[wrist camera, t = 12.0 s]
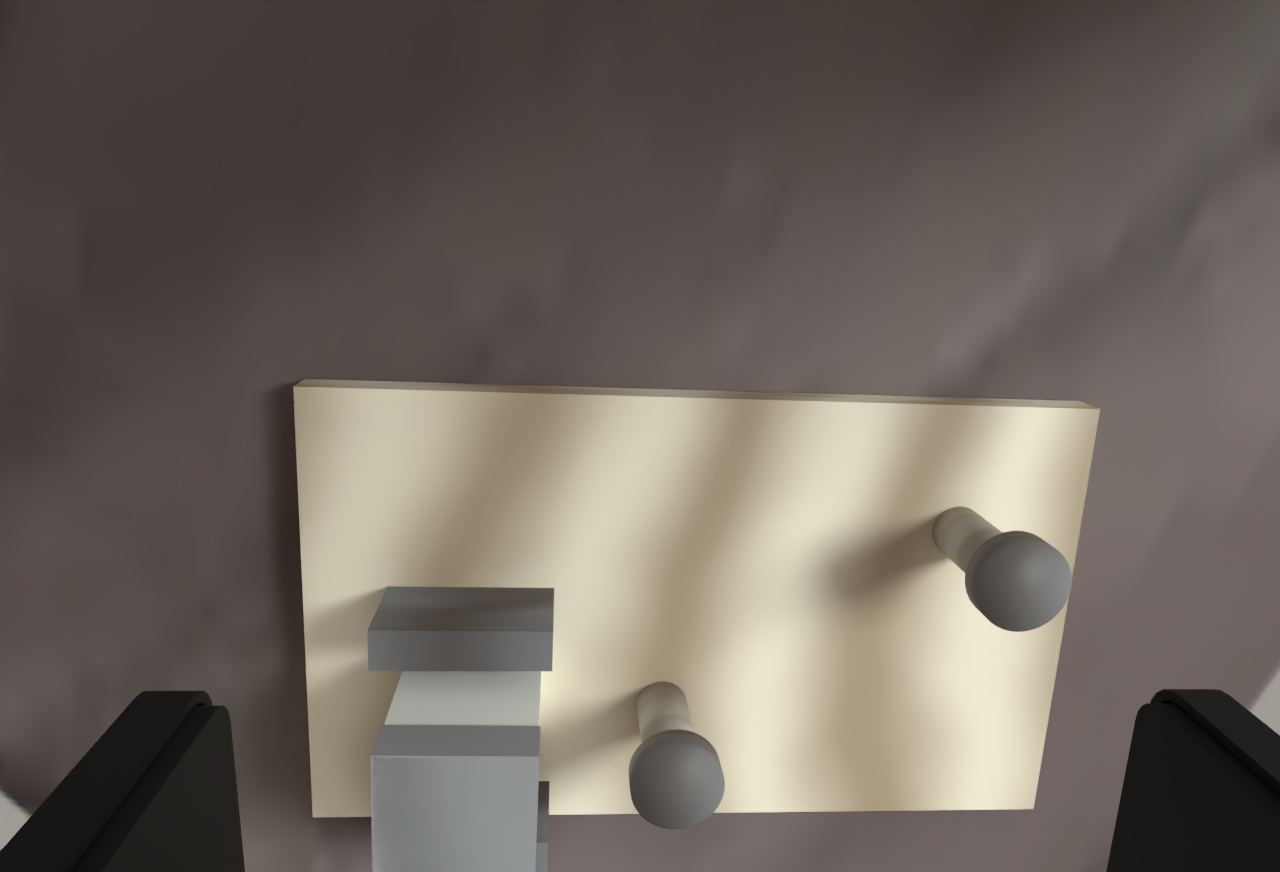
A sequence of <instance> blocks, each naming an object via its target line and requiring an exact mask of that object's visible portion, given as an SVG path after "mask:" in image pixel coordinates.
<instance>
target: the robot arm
mask: <svg viewBox="0 0 1280 872" xmlns="http://www.w3.org/2000/svg"><path fill="white" fill-rule="evenodd" d="M0 872H245V868H244V857H243V847H242V836H241V826H240V816H239V805H238V795H237V785H236V774H235V764H234V753H233V743H232V733H231V722H230V716H229V712H228V710H227V708H226V707H224V706H212V701H211V699H210V697H209V695H208V694H207V693H206V692H205V691H145V692H142V693H140V694H139V695H138V696H137V697H136V698H135V699H134V700H133V701H132V702H131V703H130V704H129V706H128V707H127V708H126V709H125V710H124V711H123V712H122V713H121V715H120V716H119V717H118V718H117V719H116V720H115V721H114V723H113V724H112V725H111V726H110V727H109V728H108V729H107V731H106V732H105V733H104V734H103V735H102V736H101V737H100V739H99V740H98V741H97V742H96V743H95V744H94V745H93V747H92V748H91V749H90V750H89V751H88V752H87V753H86V755H85V756H84V757H83V758H82V759H81V760H80V761H79V762H78V764H77V765H76V766H75V767H74V768H73V769H72V770H71V772H70V773H69V774H68V775H67V776H66V777H65V778H64V780H63V781H62V782H61V783H60V784H59V785H58V786H57V788H56V789H55V790H54V791H53V792H52V793H51V794H50V796H49V797H48V798H47V799H46V800H45V801H44V802H43V803H42V805H41V806H40V807H39V808H38V809H37V810H36V811H35V813H34V814H33V815H32V816H31V817H30V818H29V819H28V821H27V822H26V823H25V824H24V825H23V826H22V828H21V829H20V830H19V831H18V832H17V833H16V835H14V837H13V838H12V839H11V840H10V841H9V842H8V844H7V845H6V846H5V847H4V848H3V849H2V850H1V851H0ZM1107 872H1280V736H1279V735H1278V734H1277V733H1276V732H1274V731H1273V730H1272V729H1271V728H1269V727H1268V726H1267V725H1266V724H1264V723H1263V722H1262V721H1261V720H1259V719H1258V718H1257V717H1256V716H1254V715H1253V714H1252V713H1251V712H1249V711H1248V710H1247V709H1246V708H1244V707H1243V706H1242V705H1241V704H1239V703H1238V702H1237V701H1236V700H1234V699H1233V698H1232V697H1231V696H1230V695H1228V694H1226V693H1224V692H1223V691H1221V690H1213V689H1163V690H1161V691H1159V692H1157V693H1156V694H1155V696H1154V697H1153V698H1152V700H1151V703H1150V704H1145V705H1143V706H1142V707H1141V708H1140V709H1139V711H1138V713H1137V716H1136V720H1135V725H1134V730H1133V736H1132V741H1131V746H1130V751H1129V757H1128V762H1127V767H1126V772H1125V778H1124V783H1123V788H1122V793H1121V799H1120V804H1119V809H1118V814H1117V820H1116V825H1115V830H1114V835H1113V841H1112V846H1111V851H1110V856H1109V861H1108V867H1107Z"/></svg>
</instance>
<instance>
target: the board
mask: <svg viewBox="0 0 1280 872" xmlns="http://www.w3.org/2000/svg"><path fill="white" fill-rule="evenodd" d="M293 393H294V415H295V437H296V459H297V481H298V503H299V525H300V547H301V569H302V591H303V613H304V635H305V657H306V679H307V702H308V724H309V746H310V768H311V790H312V812H313V817H371V753H372V750H373V748H374V745H375V742H376V739H377V736H378V733H379V730H380V727H381V725H384V723H385V720H386V718H387V715H388V712H389V709H390V706H391V703H392V700H393V697H394V694H395V691H396V688H397V685H398V683H399V680H400V677H401V674H402V671H542V673H541V701H540V726H541V730H540V757H539V785H538V813H537V840H536V867H535V872H547V866H548V825H549V815H567V814H640V815H641V816H642V817H643V818H644V819H645V820H647V821H648V822H650V823H652V824H654V825H656V826H659V827H662V828H667V829H682V828H688V827H691V826H694V825H696V824H699V823H700V822H702V821H704V820H705V819H707V818H708V817H709V816H710V815H711V814H712V813H738V812H823V811H909V810H994V809H1033V808H1034V802H1035V796H1036V790H1037V784H1038V778H1039V772H1040V766H1041V760H1042V754H1043V748H1044V742H1045V736H1046V730H1047V724H1048V718H1049V712H1050V706H1051V700H1052V694H1053V688H1054V682H1055V676H1056V670H1057V664H1058V658H1059V652H1060V646H1061V640H1062V634H1063V628H1064V622H1065V616H1066V610H1067V604H1068V598H1069V594H1070V591H1071V585H1072V574H1073V568H1074V562H1075V556H1076V550H1077V544H1078V538H1079V532H1080V526H1081V520H1082V514H1083V508H1084V502H1085V496H1086V490H1087V484H1088V478H1089V472H1090V467H1091V461H1092V455H1093V449H1094V443H1095V437H1096V431H1097V425H1098V419H1099V413H1100V409H1098V408H1096V407H1093V406H1091V405H1088V404H1085V403H1083V402H1080V401H1059V400H1024V399H990V398H955V397H920V396H885V395H850V394H815V393H780V392H745V391H710V390H676V389H641V388H606V387H571V386H536V385H501V384H466V383H431V382H396V381H362V380H327V379H304V380H302V381H301V382H299V383H298V384H296V385H295V386H293Z"/></svg>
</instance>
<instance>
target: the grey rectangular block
mask: <svg viewBox="0 0 1280 872" xmlns="http://www.w3.org/2000/svg"><path fill="white" fill-rule="evenodd" d="M541 673H542V671H402V674H401V677H400V680H399V683H398V685H397V688H396V691H395V694H394V697H393V700H392V703H391V706H390V709H389V712H388V715H387V718H386V720H385V723H384V725H381V727H380V730H379V733H378V736H377V739H376V742H375V745H374V748H373V750H372V753H371V820H372V872H535V867H536V840H537V813H538V785H539V757H540V730H541V726H540V701H541Z"/></svg>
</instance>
